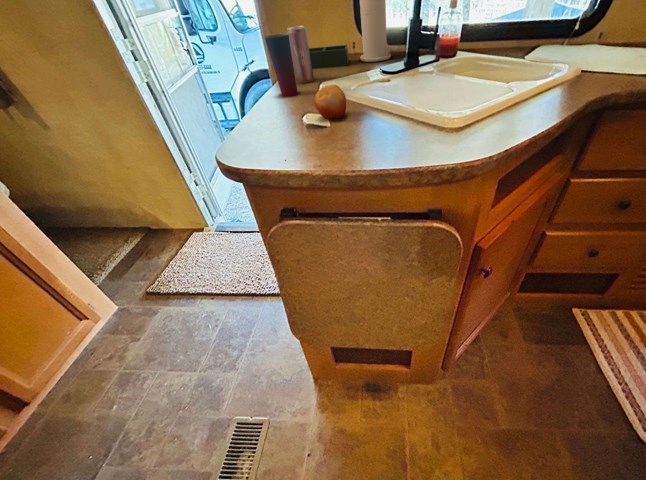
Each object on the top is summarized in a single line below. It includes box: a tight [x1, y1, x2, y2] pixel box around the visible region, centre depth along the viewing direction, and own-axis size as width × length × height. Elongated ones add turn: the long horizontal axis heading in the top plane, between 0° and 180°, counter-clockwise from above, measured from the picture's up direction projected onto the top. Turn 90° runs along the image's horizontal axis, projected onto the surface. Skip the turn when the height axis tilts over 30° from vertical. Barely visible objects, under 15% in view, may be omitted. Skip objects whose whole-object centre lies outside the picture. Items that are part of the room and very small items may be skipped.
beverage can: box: [286, 25, 315, 84], centre depth 105 cm, size 6×6×15 cm
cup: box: [264, 32, 298, 98], centre depth 94 cm, size 7×7×15 cm
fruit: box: [313, 84, 347, 120], centre depth 79 cm, size 8×8×8 cm
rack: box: [309, 44, 350, 70], centre depth 125 cm, size 18×9×5 cm, turn 90°
